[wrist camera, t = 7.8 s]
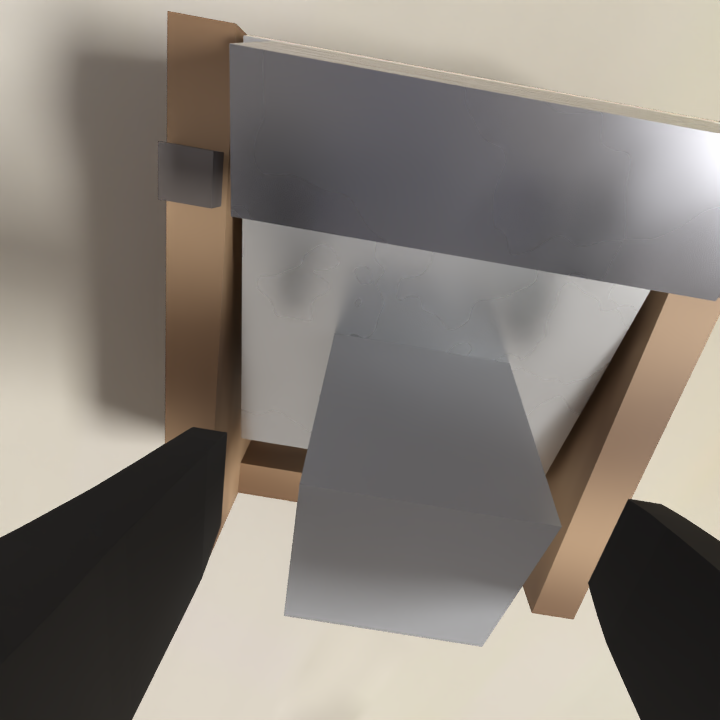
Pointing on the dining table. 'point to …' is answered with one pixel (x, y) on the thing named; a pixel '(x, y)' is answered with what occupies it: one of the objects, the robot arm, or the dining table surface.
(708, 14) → the dining table surface
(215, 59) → the frame
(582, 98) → the trapdoor
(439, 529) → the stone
